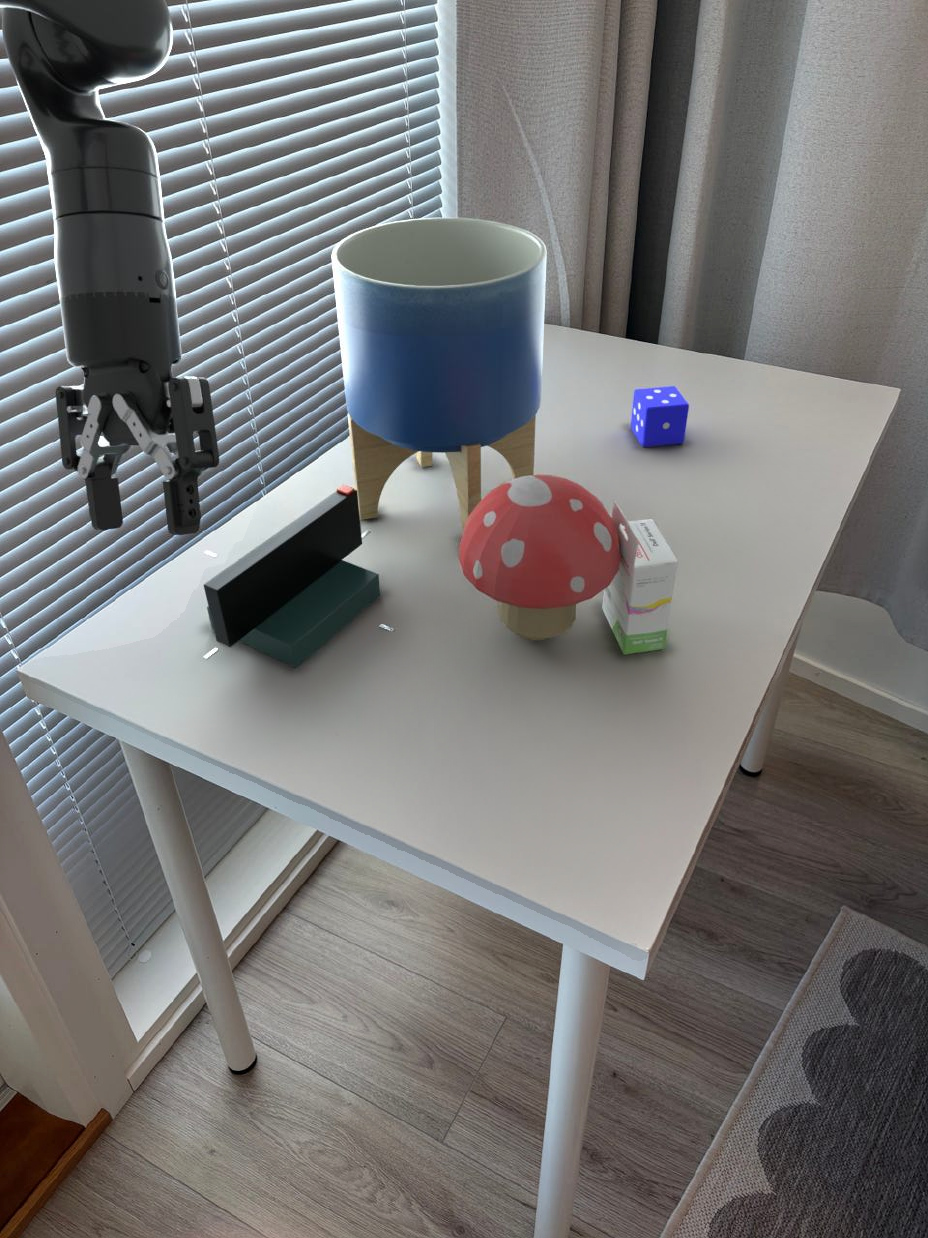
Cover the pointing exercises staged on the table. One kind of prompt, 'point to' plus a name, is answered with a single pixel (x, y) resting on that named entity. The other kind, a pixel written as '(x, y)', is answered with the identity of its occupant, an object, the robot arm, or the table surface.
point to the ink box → (640, 586)
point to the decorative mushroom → (539, 552)
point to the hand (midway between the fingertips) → (145, 531)
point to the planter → (440, 348)
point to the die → (659, 416)
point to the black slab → (283, 566)
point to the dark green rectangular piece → (314, 613)
